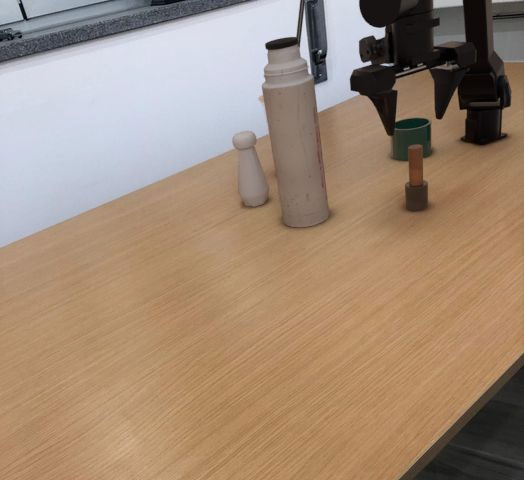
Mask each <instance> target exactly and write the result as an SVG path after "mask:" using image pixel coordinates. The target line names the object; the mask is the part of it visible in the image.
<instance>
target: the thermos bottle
mask: <svg viewBox="0 0 524 480" xmlns="http://www.w3.org/2000/svg"><path fill="white" fill-rule="evenodd" d="M264 47H265V50H267V53H266V55H267V56H266V57H267V64H266V65H265V66H264V67H263V78H264V80H265V81H264V82H263V83H262V84H261V91H262V95H263V98H264V104H265V110H266V116H267V123H268V128H267V130H268V129H269V132H268V135H269V141H270V146H271V153H272V159H273V165H274V169H275V174H276V175H275V176H276V181H277V190H278V197H279V204H280V210H281V214H282V221H283V224H285V225H286V226H287V227H292V228H308V227H312V226H316V225H319V224H321V223H323V222H325V221H326V220H327V219H328V218H329V216H330V210H329V200H328V193H327V192H328V191H327V182H326V174H325V166H324V165H325V164H324V156H323V148H322V138H321V131H320V130H321V129H320V123H319V122H320V120H319V112H318V104H317V94H316V86H315V77H314V75H313V74H311V73H309V67H310V66H309V65H308V61H307V59H305V58H304V57H302V56H301V47H300V48H299V47H298V38H297V37H296V36H286V37H280V38H276V39H273V40H270V41H267V42H266V43H264Z"/></svg>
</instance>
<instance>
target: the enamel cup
mask: <svg viewBox="0 0 524 480" xmlns="http://www.w3.org/2000/svg"><path fill="white" fill-rule="evenodd" d="M432 126H433V125H432V120H431V119H430V118H429V117H428V118H426V117H419V116H418V117H408V118H407V117H406V118H402V119H399V120H396V121H395V130H394V135H393V136H389V137H390V154H391V158H392V159H394V160H396V161H404V162H406V161H407V162H409V161H408V147H409V146H411V145H417V144H418V145H422V146H423V159H425V158H427V157H429V156H430V155H431V154H432V152H433V151H432V150H433V144H432V143H433V138H432V137H433V136H432V135H433V131H432V129H433V128H432Z"/></svg>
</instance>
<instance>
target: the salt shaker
mask: <svg viewBox="0 0 524 480" xmlns="http://www.w3.org/2000/svg"><path fill="white" fill-rule="evenodd" d="M257 139H258V138H257V135H256V133H255V132H254V131H252V130H242V131H239V132H236V133H235V134H234V135H233V136H232V137H231V143H232V146H233V148H234V149H235V150H237V193H238V196H239V198H240V199H241V200H242V202H243V203H244V205H245V207H253V208H254V207H258V206H261V205H264V204H265V203H266V202H267V201H268V197H269V193H270V192H269V191H270V186H269V183H268V180H267V177H266V175H265V172H264V169H263V167H262V163H261V161H260V157H259V155H258V151H257V149H256V147H255V146H256V145H257V141H258V140H257Z"/></svg>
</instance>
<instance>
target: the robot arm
mask: <svg viewBox="0 0 524 480" xmlns="http://www.w3.org/2000/svg"><path fill="white" fill-rule="evenodd" d="M358 8H359V12H360V15H361V18H362V19H363V20H364V21H365V22H366V23H367V25H368V26H370V27H373V28H376V29H383V28H384V36H383V37H381V38H378V39H377V38H376V37H375V35H374V34H373V35H368V36H365V37H362V38H361V39H360V40H358V54H359V58H360V61H361V62H362V63H363V64H366V63H368V62H370V64H368V65H364V66H362V67H359V68H354V69H353V70H352V72H351V74H350V76H349V86H350V87H349V88H350V91H351V92H355V93H358V94H359V95H360V96H362V97H367V98H368V99H369V100H370V101H371V103H372V104H373V106H374V108H375V110H376V111H377V114H378V117H379V119H380V121H381V123H382V126H383V129H384V131H385V132H386V135H387V136H388V137H390V136H393V135H394V130H395V122H396V121H397V120H396V119H397V106H398V105H397V104H398V89H393V88H394V86H395V84H396V83H397V80H398V79H401V78H405V77H408V76H412V75H415V74H418V73H421V72H423V71H424V72H425V71H427V70H428V71H429V73H430V75H431V78H432V80H433V90H434V91H433V96H434V97H433V98H434V114H435V115H434V116H435V119H436V120H442V119H444V116H445V114H446V112H447V110H448V106H449V105H450V103H451V100H452V98H453V97H454V94H455V92H456V91H457V92H456V93H457V99H458V108H459V111H465V110H466V118H465V119H464V135H463V136H461V137H460V140H461V141H464V142H468V143H471V144H476V145H479V146H480V145H481V146H485V145H487V144H490V143H493V142H496V141H499V140H501V139H504V138H507V137H508V133H506V132H503V131H502V128H503V127H502V125H503V110H505V109H507V108H510V107H511V106H512V93H513V92H512V91H513V90H512V88H511V84H510V81H509V78H508V75H507V74H506V72H505V71H506V70H505V63H504V61H503V59H502V58H501V56H500V55H499V54H498V53H497V52H496V51H495V43H494V21H493V17H494V16H493V0H462V10H463V11H462V12H463V26H464V38H465V41H457V40H449V41H446V42H443V43H439V44H436V45H435V42H434V41H435V39H434V35H435V33H434V32H435V30H434V28H435V27H436V28H437V27H440V26H441V21H440V20H441V17H439V16H435V15H434V0H358ZM390 64H393V65H390Z"/></svg>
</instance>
